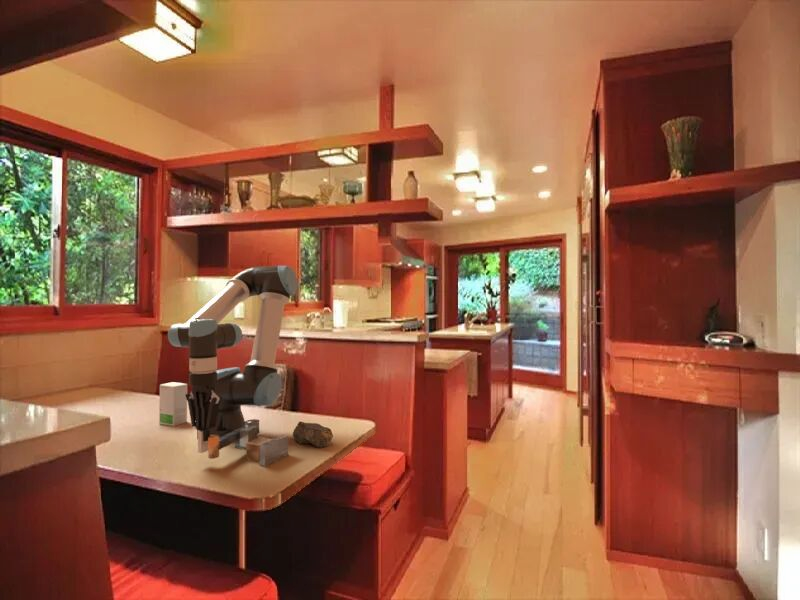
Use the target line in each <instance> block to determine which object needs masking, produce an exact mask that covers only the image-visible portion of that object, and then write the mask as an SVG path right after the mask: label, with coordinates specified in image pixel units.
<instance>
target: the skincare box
mask: <svg viewBox="0 0 800 600" xmlns="http://www.w3.org/2000/svg"><path fill="white" fill-rule="evenodd" d="M186 394H188V383H183V382H176V381H175V382H174V381H171V382H167V383H161V384H159V404H158V405H159V407H158V408H159V413H158V416H159V418H158V419H159V420H158V424H159V425H166V426H170V427H176V426H178V425H181V424H185V423H187V422H188V421H187V419H188V415H187V414H188V401H187V399H186Z"/></svg>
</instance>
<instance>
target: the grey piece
mask: <svg viewBox="0 0 800 600" xmlns="http://www.w3.org/2000/svg"><path fill="white" fill-rule="evenodd" d="M260 437H262V438H265V437H263V436H258V438H260ZM267 438H268V437H267ZM268 439H270V438H268ZM233 443H234V445H233V446H234V448H237V449H241V450H246V447H243V446H240V440H237V441H235V442H233ZM287 456H289V435H285V434H281V435H279V436H278V437H274V438H272V440H270V441H268V442H265V443H263V444H261V445H260V461H259V466H262V467H267V466H269V465H271V464H273V463H275V462H276V461H279V460H281V459H283V458H285V457H287Z"/></svg>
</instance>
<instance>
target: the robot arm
mask: <svg viewBox="0 0 800 600" xmlns="http://www.w3.org/2000/svg"><path fill="white" fill-rule="evenodd" d="M297 278H298V277H297V275H296V272H295V270H294V269H293V268H292V267H291V266H288V265H279V264H278V265H268V266H267V265H266V266H265V265H263V266H256V265H255V266H251V267H248V268H246V269H244V270H242V271H240V272H239V273H237V274H236V275H234V276H233V277H232V278H230V279H229V280H227V282H226V284H225V287H224V288H222V290H221V291H220V292H219V293H217V294H216V295H215V296H214V297H213V298H211V299H210V301H208V302H207V303H206V304H204V305H203V307H201V308H200V309H198V311H197V312H196V313H195V314H193V315H192V316H191V317H190V318H189V319H188V320H187V321H185V322H183V323H181V322H179V323H176V324H172V325H171V326H170V328H169V329H168V330H167V331H168V332H167V339H168V342H169V343H170V344H171V346H173V347H179V348H188V350H189V354H188V358H189V360H188V362H189V366H188V367H189V368H188V369H189V370H188V371H189V372H190V373H189V374H188V383H189V384H188V385H189V386H190V387H191V391H190V392H189V393H187V394H186V399H187V407H188V410H189V418H190V422H191V426H192V427H193V428H194V427H195V430H196V435H197V437H196V438H197V453H198V454H199V453H200V454H203V453H205V452H208V436H210V435H219V438H220V437H222V436H224V435H226V434H228V433H230V432H232V431H234V430H236V429H238V428H241V427H243V426H245V421H246V420H245V417H244V415H243V412H242V407H241V406H257V407H263V406H270V405H272V404H273V403H275V401H277V399H278V398H279V396H280V394H281V390H282V385H283V384H282V383H283V382H282V376H281V375H280V373H278V372H279V371H278V368H277V366H276V365H275V363H276V358H277V357H276V356H277V352H278V351H277V350H278V345H279V340H280V334H281V328H282V322H283V317H284V311H285V310H284V309H285V305H286V304H288V303H290V300H291V296H294V295H296V294H297V292H298V287H299V283H298V279H297ZM254 296H255V297H256V296H258V298H259V299H260V300H261V304H260V309H259V314H258V320H257V323H256V324H257V325H256V330H255V334H254V335H255V336H254V339H253V344H252V345H253V346H252V351H251V356H250V361H249V362H248V363H246V364H245V365H244V370H243V371H242V370H241V368H240V367H239V366H238V367H237V366H236V367H228V368H226V367H225V368H221V369H218V349H224V348H225V349H226V348H232V347H234V346H237V345H238V344H239V343H240V342H241V341H242V338H243V331H242V329H241V327H240V326H239V325H237V324H236V323H231V322H229V323H228V322H226V323H221V321H222V320H223V319H224V318H226V317H227V315H229V313H231V312H232V310H234V308H236V306H237V305H238V304H239V303H241V302H245V301H246V300H248V298H251V297H254Z"/></svg>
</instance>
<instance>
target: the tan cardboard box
mask: <svg viewBox="0 0 800 600" xmlns="http://www.w3.org/2000/svg"><path fill="white" fill-rule="evenodd" d="M259 437H260V438H257V439H255V440H252V441H250V442H248V443H246V449H245V455H246V457H245V458H246V459H245V460H250V461H255V462H258V463H260V445H261V444H263V443H265V442H268V441H270V440H272V439H273V438H272V439H271V438H269V439H268V437H264V438H262V437H263V436H259Z"/></svg>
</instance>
